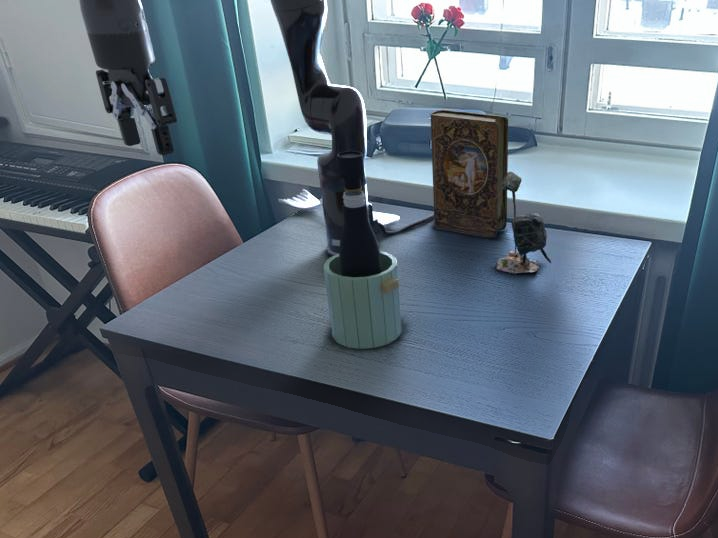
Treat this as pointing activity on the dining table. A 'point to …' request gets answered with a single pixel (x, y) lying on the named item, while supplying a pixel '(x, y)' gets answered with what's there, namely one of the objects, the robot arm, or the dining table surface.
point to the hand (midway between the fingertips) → (149, 149)
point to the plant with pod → (523, 235)
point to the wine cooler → (364, 304)
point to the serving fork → (313, 203)
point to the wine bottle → (356, 221)
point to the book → (469, 171)
